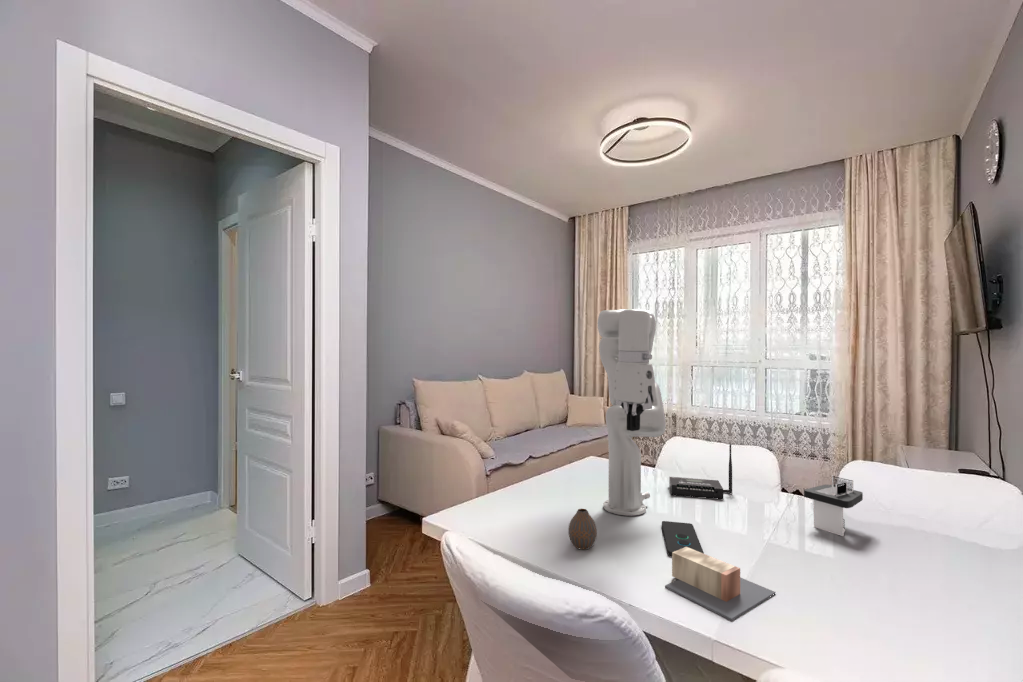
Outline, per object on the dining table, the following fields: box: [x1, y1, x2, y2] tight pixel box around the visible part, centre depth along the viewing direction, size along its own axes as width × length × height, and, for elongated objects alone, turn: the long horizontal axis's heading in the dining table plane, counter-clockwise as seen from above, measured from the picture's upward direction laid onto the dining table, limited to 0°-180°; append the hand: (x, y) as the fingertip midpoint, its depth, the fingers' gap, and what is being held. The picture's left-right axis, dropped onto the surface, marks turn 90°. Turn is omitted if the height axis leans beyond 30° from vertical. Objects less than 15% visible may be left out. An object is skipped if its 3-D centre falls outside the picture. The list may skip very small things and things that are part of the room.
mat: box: [664, 576, 776, 622], centre depth 92 cm, size 16×14×1 cm
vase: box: [567, 508, 598, 550], centre depth 113 cm, size 7×7×9 cm
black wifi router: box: [668, 443, 733, 500], centre depth 156 cm, size 20×14×17 cm
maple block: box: [671, 547, 741, 602], centre depth 94 cm, size 5×5×12 cm
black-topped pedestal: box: [803, 475, 864, 537], centre depth 125 cm, size 28×26×13 cm
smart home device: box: [661, 520, 705, 557], centre depth 116 cm, size 8×2×20 cm
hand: (633, 429), depth 117 cm, fingers closed
